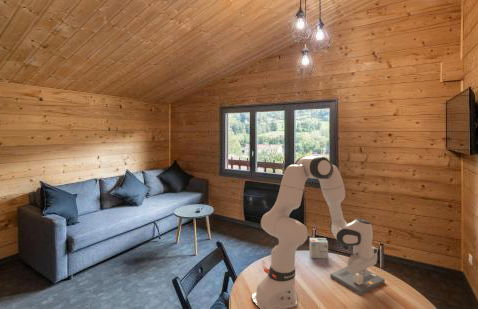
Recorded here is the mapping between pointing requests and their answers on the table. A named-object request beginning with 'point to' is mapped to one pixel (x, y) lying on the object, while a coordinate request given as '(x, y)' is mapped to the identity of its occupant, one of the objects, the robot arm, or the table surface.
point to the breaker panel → (347, 280)
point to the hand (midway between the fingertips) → (361, 276)
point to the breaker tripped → (358, 278)
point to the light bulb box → (318, 248)
